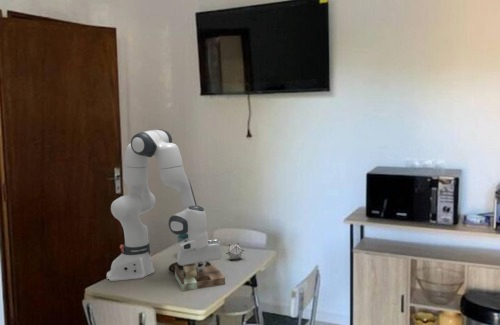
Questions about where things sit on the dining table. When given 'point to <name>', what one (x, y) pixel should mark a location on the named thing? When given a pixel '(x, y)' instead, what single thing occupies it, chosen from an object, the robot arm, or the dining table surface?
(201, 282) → the box
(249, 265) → the dining table surface
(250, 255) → the dining table surface
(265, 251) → the dining table surface
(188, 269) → the maple block
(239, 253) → the game die
